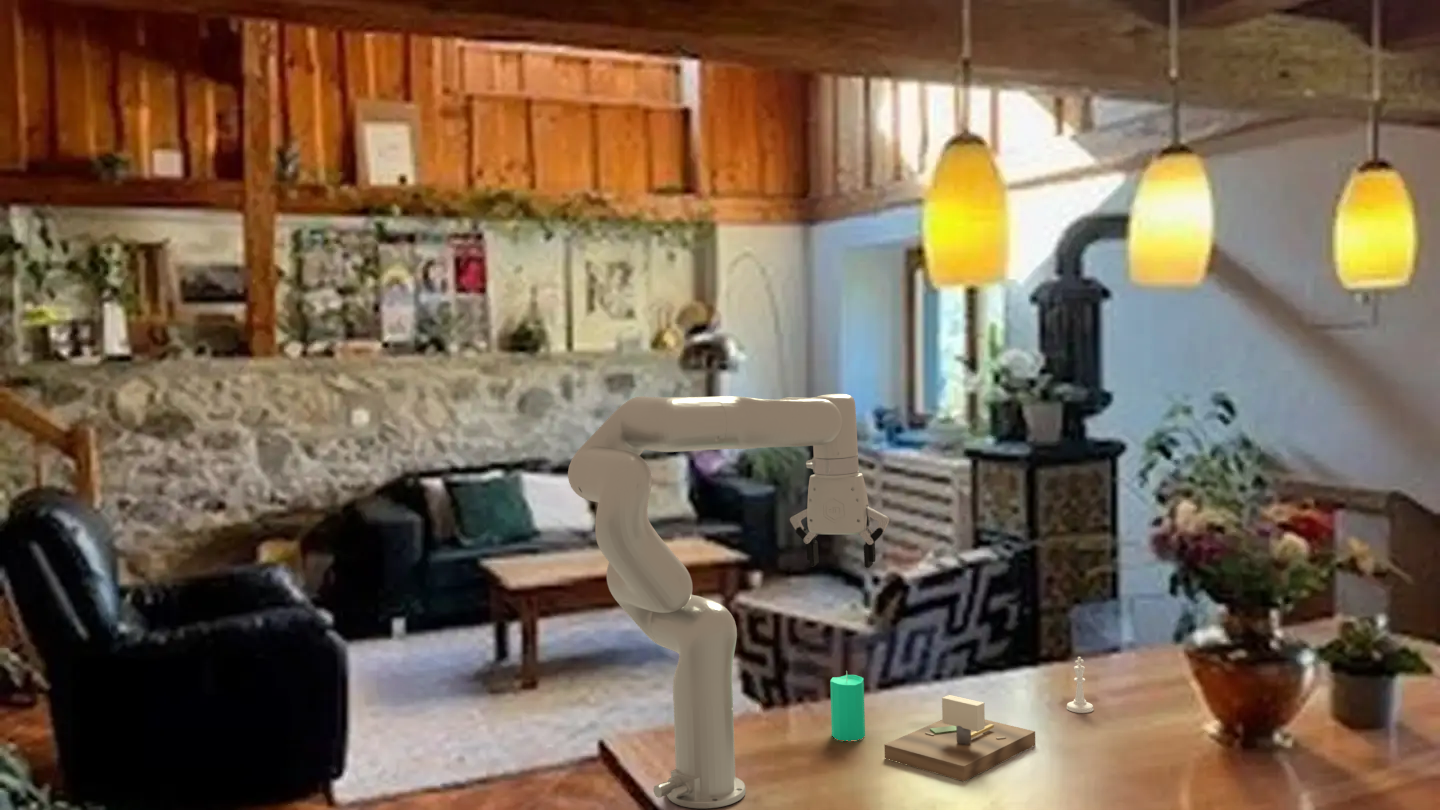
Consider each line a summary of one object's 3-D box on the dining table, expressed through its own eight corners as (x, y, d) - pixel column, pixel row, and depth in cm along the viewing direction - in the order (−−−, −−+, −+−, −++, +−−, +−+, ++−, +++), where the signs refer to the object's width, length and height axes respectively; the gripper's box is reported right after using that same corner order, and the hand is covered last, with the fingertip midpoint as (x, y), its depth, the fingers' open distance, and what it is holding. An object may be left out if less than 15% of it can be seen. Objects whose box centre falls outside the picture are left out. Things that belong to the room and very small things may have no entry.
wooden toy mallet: (977, 748, 204) (976, 706, 203) (942, 739, 209) (941, 697, 208) (1009, 732, 211) (1008, 692, 210) (975, 724, 216) (974, 684, 215)
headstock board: (964, 781, 197) (963, 764, 196) (884, 758, 208) (884, 742, 208) (1035, 745, 212) (1035, 729, 212) (957, 726, 223) (957, 711, 223)
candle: (864, 730, 223) (863, 666, 222) (865, 742, 217) (863, 675, 216) (831, 730, 223) (830, 666, 222) (831, 741, 217) (829, 675, 217)
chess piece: (1060, 707, 232) (1060, 656, 232) (1081, 703, 234) (1080, 652, 234) (1078, 714, 228) (1078, 662, 227) (1099, 710, 230) (1098, 658, 229)
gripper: (781, 470, 207) (786, 569, 208) (881, 469, 201) (886, 571, 202) (794, 464, 214) (799, 559, 215) (891, 463, 208) (895, 561, 209)
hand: (841, 565), depth 209 cm, fingers open, 9 cm apart
